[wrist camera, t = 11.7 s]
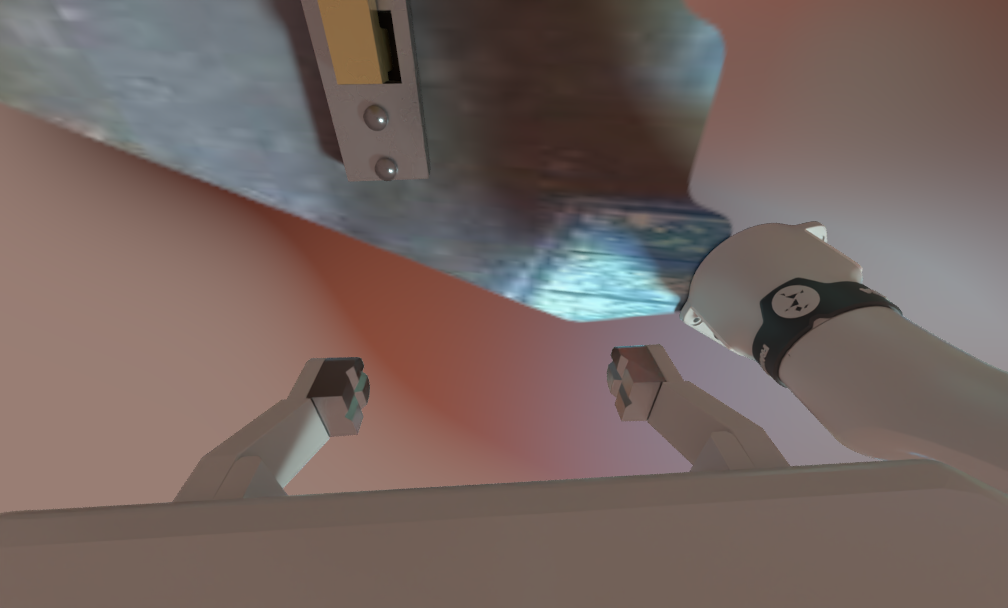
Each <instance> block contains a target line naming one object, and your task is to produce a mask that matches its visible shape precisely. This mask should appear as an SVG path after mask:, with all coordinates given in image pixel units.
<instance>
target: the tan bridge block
mask: <svg viewBox="0 0 1008 608" xmlns="http://www.w3.org/2000/svg"><path fill="white" fill-rule="evenodd" d="M317 1H318V5H319V9H320V13H321V18H322V22H323V26H324V30H325V34H326V38H327V42H328V46H329V51H330V55H331V59H332V63H333V67H334V71H335V75H336V80H337V84H383V83H384V82H386V81H388V80H389V79H388V73H387V72H389V71H391V70H393V69H394V65H393V59H392V53H391V46H390V40H389V34H388V29H382V28H380V26H379V20H378V14H377V8H376V2H375V0H317Z"/></svg>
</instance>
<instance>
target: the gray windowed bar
mask: <svg viewBox="0 0 1008 608" xmlns="http://www.w3.org/2000/svg"><path fill="white" fill-rule="evenodd" d="M375 2H376V8H377V13H391V14H392V21H393V28H394V34H395V41H396V48H397V54H398V61H399V68H400V74H401V80H388V81H386V82H384V83H383V84H337V80H336V75H335V71H334V67H333V63H332V59H331V55H330V51H329V46H328V42H327V38H326V34H325V30H324V26H323V22H322V18H321V13H320V9H319V5H318V1H317V0H301V3H302V7H303V11H304V14H305V18H306V22H307V26H308V30H309V33H310V37H311V41H312V45H313V49H314V52H315V56H316V60H317V64H318V68H319V71H320V75H321V79H322V83H323V87H324V90H325V94H326V98H327V102H328V106H329V109H330V113H331V117H332V121H333V125H334V128H335V132H336V136H337V140H338V143H339V147H340V151H341V155H342V159H343V162H344V166H345V170H346V174H347V178H348V181H375V180H384V181H390V180H402V179H429V175H430V170H431V167H430V159H429V151H428V143H427V134H426V126H425V118H424V110H423V102H422V94H421V86H420V78H419V70H418V62H417V54H416V46H415V38H414V30H413V22H412V14H411V6H410V0H375Z"/></svg>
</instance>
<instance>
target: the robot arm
mask: <svg viewBox="0 0 1008 608" xmlns="http://www.w3.org/2000/svg"><path fill="white" fill-rule="evenodd" d="M862 270H863V269H862V267H861V266H860V265H859V264H858V263H856V262H855V261H853V260H852V259H850V258H849V257H847V256H846V255H844V254H843V253H841V252H840V251H838V250H837V249H835V248H834V247H832V246H831V245H829V244H828V243H827V233H826V227H825V226H824V225H822V224H821V223H819V222H816V221H813V222H807V223H802V224H799V225H785V224H780V223H767V224H761V225H757V226H753V227H750V228H747V229H745V230H743V231H741V232H738V233H736V234H735V235H733V236H731V237H729V238H728V239H726V240H725V241H723V242H722V243H721V244H720V245H718V246H717V247H716V248H715V249H714V250H713V251H711V252H710V254H709V255H708V256H707V257H706V258H705V259H704V260H703V262H702V263H701V264H700V266H699V267H698V269H697V271H696V272H695V274H694V276H693V279H692V282H691V285H690V292H689V297H688V300H687V302H686V303H685V305H684V307H683V308H682V310H681V312H680V319H681V320H682V321H683V322H684V323H685V324H687V325H689V326H691V327H692V328H694V329H696V330H698V331H699V332H701V333H702V334H704V335H706V336H707V337H709V338H711V339H713V340H714V341H716V342H718V343H719V344H721V345H723V346H724V347H726V348H728V349H729V350H731V351H733V352H735V353H736V354H738V355H743V356H745V357H747V358H750V359H752V360H754V361H756V362H758V363H759V364H760V366H761V367H762V369H763V370H764V371H765V372H766V373H767V374H768V375H769V376H770V377H771V378H773V379H774V380H775V381H776V382H777V383H778V384H779V385H782V386H783V387H786V388H788V389H789V390H790V391H791V392H792V393H793V394H794V395H795V396H796V397H797V398H798V399H799V400H800V401H801V402H802V403H803V405H804V406H805V407H806V408H807V409H808V410H809V411H810V412H811V413H812V414H813V415H814V416H815V417H816V418H817V420H819V422H820V423H821V424H822V425H823V426H824V427H825V428H826V429H827V430H828V431H829V432H830V433H831V434H832V435H833V436H834V437H835V439H836V440H837V441H839V442H840V443H841V444H842V445H844V446H846V447H847V448H849V449H851V450H853V451H855V452H857V453H860V454H862V455H865V456H868V457H871V458H874V459H878V460H883V461H873V462H856V463H839V464H822V465H805V466H790V465H789V464H788V462H787V461H786V460H785V458H784V457H783V455H782V454H781V453H780V451H779V450H778V449H777V447H776V446H775V445H774V443H773V442H772V441H771V439H770V438H769V436H768V435H767V434H766V432H765V431H764V430H763V428H761V427H760V426H758V425H756V424H755V423H753V422H752V421H750V420H749V419H747V418H746V417H744V416H742V415H741V414H739V413H738V412H736V411H735V410H733V409H731V408H730V407H728V406H727V405H725V404H724V403H722V402H720V401H719V400H717V399H716V398H714V397H713V396H711V395H710V394H708V393H706V392H705V391H703V390H702V389H700V388H699V387H697V386H696V385H694V384H692V383H691V382H689V381H684V380H683V379H682V377H681V375H680V374H679V372H678V371H677V369H676V367H675V366H674V364H673V362H672V361H671V359H670V358H669V356H668V354H667V353H666V352H665V349H664V348H663V346H661V345H660V344H657V345H644V346H643V345H642V346H641V345H640V346H620V347H614V348H613V349H612V353H611V357H612V359H613V361H612V363H610V364H609V365H608V369H607V382H608V387H609V389H610V392H611V394H613V395H614V396H615V397H616V402H615V406H616V408H617V411H618V413H619V416H620V418H621V421H648V423H649V424H650V425H651V426H652V427H653V428H654V429H655V430H657V431H658V432H659V433H660V434H661V435H662V436H663V437H664V438H665V439H666V440H667V441H668V442H669V443H670V444H671V445H672V446H673V447H674V448H676V449H677V450H678V451H679V452H680V453H681V454H682V455H683V456H684V457H685V458H686V459H687V460H688V461H689V462H690V463H691V464H692V465H693V467H692V468H691V470H690V472H684V473H667V474H650V475H633V476H617V477H616V476H615V477H600V478H584V479H583V478H582V479H566V480H548V481H531V482H514V483H497V484H480V485H465V486H464V485H463V486H445V487H430V488H429V487H428V488H410V489H393V490H378V491H377V490H376V491H360V492H341V493H324V494H307V495H291V496H288V495H287V493H286V492H285V491H284V489H283V488H284V487H285V486H286V485H287V483H289V482H290V480H291V479H292V478H293V477H294V476H295V475H296V474H297V473H298V472H299V471H300V470H301V469H302V467H304V465H305V464H306V463H307V462H308V461H309V460H310V459H311V458H312V457H313V455H315V454H316V453H317V451H318V450H319V449H320V448H321V447H322V446H323V445H324V444H325V443H326V442H327V441H328V439H329V437H332V436H346V435H357V434H358V432H359V429H360V425H361V422H362V419H363V414H362V411H361V409H362V408H364V407H365V406H366V405H367V403H368V399H369V393H370V385H369V379H368V376H367V375H366V374H365V373H363V372H362V371H363V368H364V364H363V361H362V359H361V358H359V357H349V358H312V359H310V360H308V361H307V362H306V364H305V366H304V368H303V370H302V372H301V374H300V375H299V377H298V379H297V381H296V383H295V385H294V387H293V388H292V390H291V392H290V394H289V396H288V398H287V399H286V400H281V401H279V402H278V403H277V404H275V405H274V406H272V407H271V408H270V409H268V410H267V411H265V412H264V413H263V414H261V415H260V416H258V417H257V418H256V419H254V420H253V421H252V422H250V423H249V424H247V425H246V426H245V427H243V428H242V429H241V430H239V431H238V432H236V433H235V434H234V435H233V436H231V437H230V438H228V439H227V440H225V441H224V442H223V443H221V444H220V445H219V446H217V447H216V448H214V449H213V450H212V451H211V452H209V453H207V454H206V455H205V456H203V457H202V458H201V460H200V461H199V463H198V464H197V466H196V467H195V469H194V470H193V472H192V473H191V475H190V476H189V478H188V479H187V481H186V482H185V484H184V485H183V487H182V488H181V490H180V491H179V493H178V494H177V496H176V497H175V499H174V500H173V502H169V503H152V504H136V505H117V506H100V507H83V508H66V509H49V510H24V511H12V512H4V513H0V608H1008V372H1006V371H1003V370H1001V369H999V368H996V367H994V366H992V365H990V364H988V363H986V362H983V361H982V360H980V359H978V358H976V357H974V356H972V355H970V354H968V353H966V352H965V351H963V350H961V349H959V348H957V347H955V346H953V345H952V344H950V343H948V342H946V341H944V340H943V339H941V338H939V337H937V336H935V335H934V334H932V333H930V332H928V331H927V330H925V329H923V328H922V327H920V326H918V325H917V324H915V323H913V322H912V321H910V320H909V319H907V318H905V317H904V316H903V315H902V312H901V310H900V309H899V308H898V307H897V306H896V305H894V304H893V303H891V302H890V301H889V299H887V298H886V297H885V296H883V295H882V294H880V293H878V292H876V291H874V290H871V289H870V288H868V287H866V286H865V285H863V284H862V281H863V276H862V273H861V271H862Z"/></svg>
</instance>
